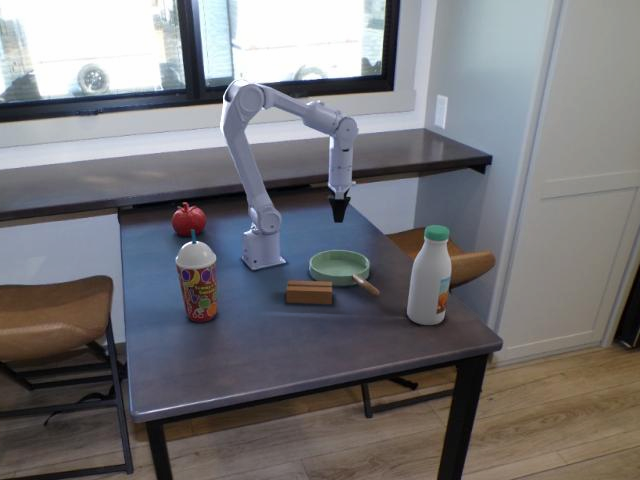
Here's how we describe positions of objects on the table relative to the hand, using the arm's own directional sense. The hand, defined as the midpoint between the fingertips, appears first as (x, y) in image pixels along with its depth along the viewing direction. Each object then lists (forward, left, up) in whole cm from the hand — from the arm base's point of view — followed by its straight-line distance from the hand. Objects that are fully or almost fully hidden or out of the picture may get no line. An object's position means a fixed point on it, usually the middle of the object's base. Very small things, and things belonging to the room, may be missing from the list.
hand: (338, 216), depth 136 cm
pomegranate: (-33, +30, -10) cm, 46 cm away
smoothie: (-43, -17, -10) cm, 47 cm away
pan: (-7, -13, -9) cm, 17 cm away
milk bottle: (0, -38, -10) cm, 39 cm away
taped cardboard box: (-19, -21, -9) cm, 30 cm away
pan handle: (-6, -24, -8) cm, 27 cm away
